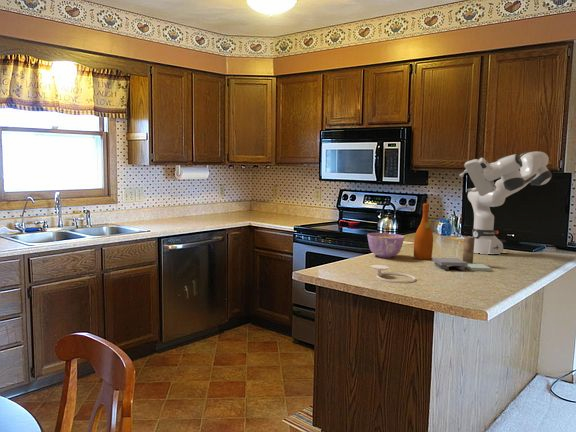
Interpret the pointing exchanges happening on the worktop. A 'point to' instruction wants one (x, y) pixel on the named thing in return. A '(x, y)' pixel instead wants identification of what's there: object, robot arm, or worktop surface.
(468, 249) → the walnut roller
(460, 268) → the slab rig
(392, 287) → the worktop surface
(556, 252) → the worktop surface
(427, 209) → the wine bottle
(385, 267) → the hand towel holder
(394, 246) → the bowl of food
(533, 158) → the robot arm
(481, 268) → the board
